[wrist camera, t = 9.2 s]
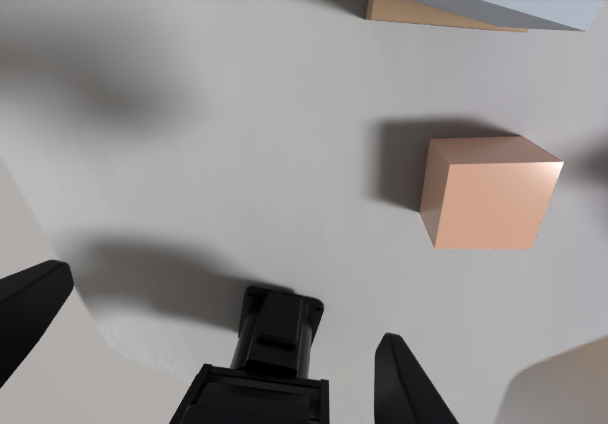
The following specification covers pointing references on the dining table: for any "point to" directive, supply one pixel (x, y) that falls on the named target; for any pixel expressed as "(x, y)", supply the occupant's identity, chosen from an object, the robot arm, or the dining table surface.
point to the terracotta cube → (486, 192)
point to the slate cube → (524, 12)
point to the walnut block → (424, 15)
